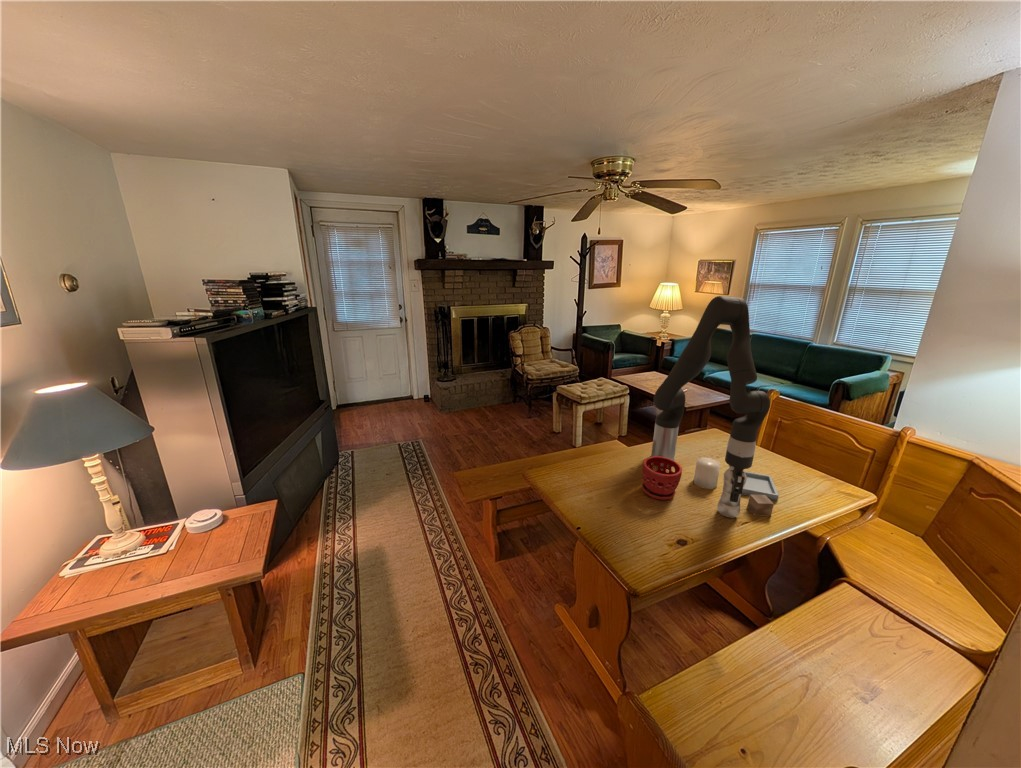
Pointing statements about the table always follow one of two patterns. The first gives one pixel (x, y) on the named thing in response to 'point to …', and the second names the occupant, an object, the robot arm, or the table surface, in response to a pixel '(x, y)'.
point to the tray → (760, 486)
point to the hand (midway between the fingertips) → (731, 494)
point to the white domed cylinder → (706, 473)
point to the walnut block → (760, 505)
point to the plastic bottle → (724, 503)
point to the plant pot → (660, 477)
